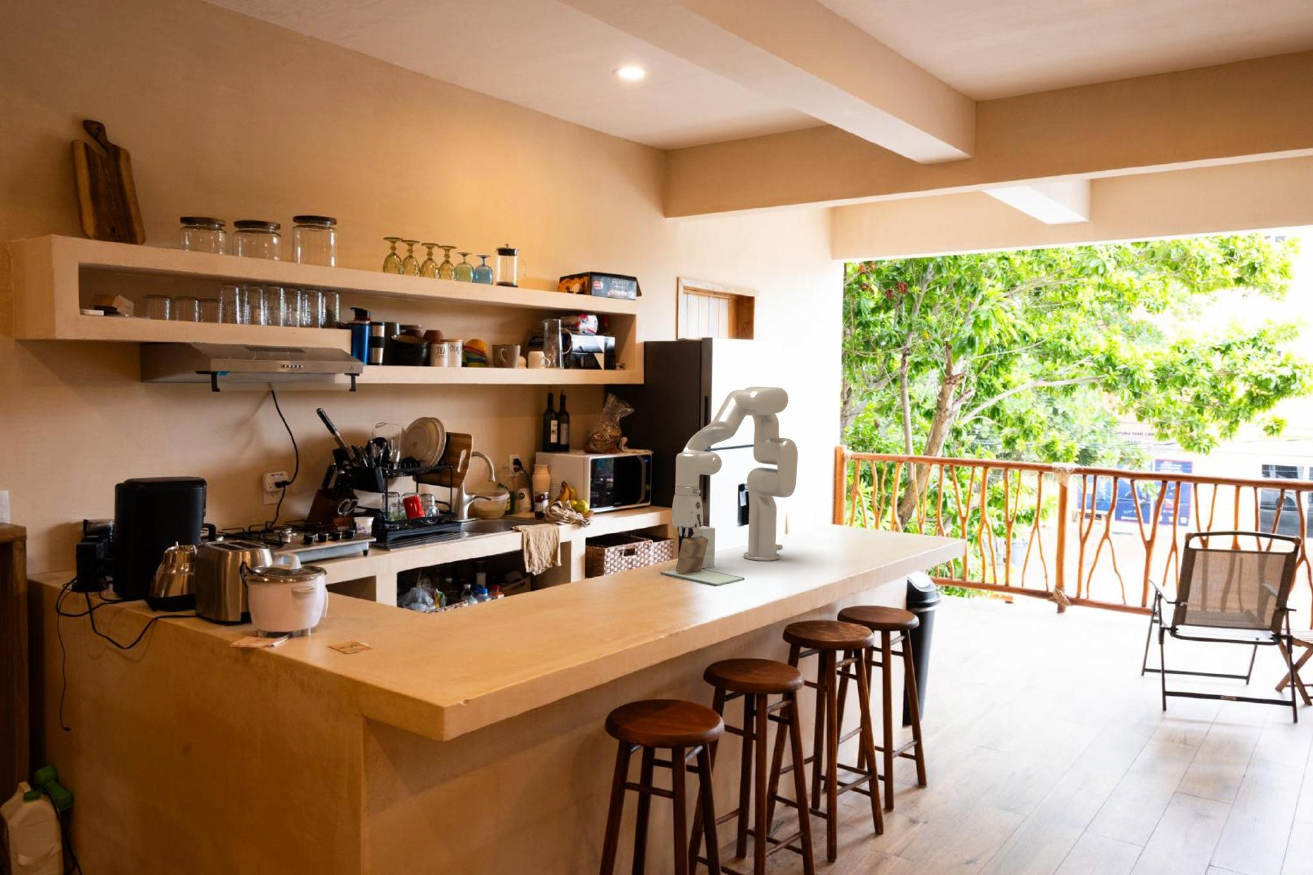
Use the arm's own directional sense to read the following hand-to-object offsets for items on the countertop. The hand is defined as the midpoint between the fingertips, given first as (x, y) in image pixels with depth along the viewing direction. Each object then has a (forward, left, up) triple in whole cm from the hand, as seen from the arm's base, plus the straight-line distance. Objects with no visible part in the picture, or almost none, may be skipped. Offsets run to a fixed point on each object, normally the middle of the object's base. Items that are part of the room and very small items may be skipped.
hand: (685, 548), depth 308 cm
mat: (0, +7, -8) cm, 11 cm away
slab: (0, +1, -7) cm, 7 cm away
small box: (-13, -5, -8) cm, 16 cm away
